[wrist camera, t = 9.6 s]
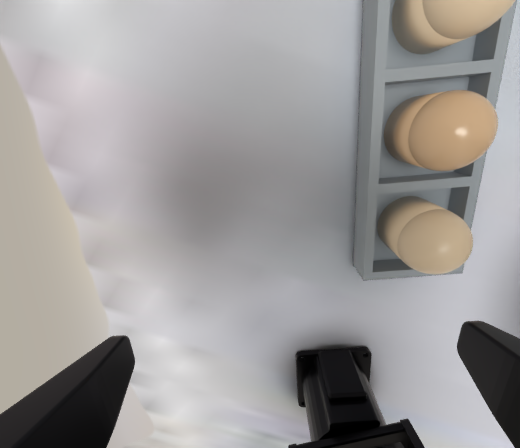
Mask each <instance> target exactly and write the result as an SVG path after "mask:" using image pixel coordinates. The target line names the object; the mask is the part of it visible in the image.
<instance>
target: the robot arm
mask: <svg viewBox="0 0 520 448" xmlns="http://www.w3.org/2000/svg"><path fill="white" fill-rule="evenodd" d="M457 350H458V354H459V356H460V358H461V360H462V361H463V363H464V365H465V367H466V368H467V370H468V372H469V374H470V375H471V377H472V379H473V381H474V382H475V384H476V386H477V388H478V389H479V391H480V393H481V395H482V397H483V398H484V400H485V402H486V404H487V405H488V407H489V409H490V410H491V412H492V414H493V415H494V417H495V419H496V420H497V422H498V423H499V425H500V426H501V428H502V429H503V431H504V432H505V434H506V435H507V437H508V438H509V439H510V441H511V442H512V444H513V445H514V447H515V448H520V339H519V338H517V337H515V336H513V335H511V334H509V333H506V332H504V331H502V330H500V329H498V328H496V327H494V326H492V325H489V324H487V323H485V322H482V321H467V322H464V324H463V325H462V327H461V331H460V335H459V339H458V343H457ZM364 353H365V354H364ZM301 357H303V358H301ZM134 365H135V357H134V354H133V350H132V347H131V343H130V340H129V338H128V337H127V336H125V335H123V336H112V337H110V338H108V339H107V340H105V341H104V342H102V343H101V344H100V345H98V346H97V347H95V348H94V349H92V350H91V351H90V352H88V353H87V354H85V355H84V356H83V357H81V358H80V359H78V360H77V361H76V362H74V363H73V364H71V365H70V366H68V367H67V368H65V369H64V370H63V371H61V372H60V373H58V374H57V375H55V376H54V377H53V378H51V379H50V380H48V381H47V382H46V383H44V384H43V385H41V386H40V387H38V388H37V389H36V390H34V391H33V392H31V393H30V394H29V395H27V396H26V397H24V398H23V399H21V400H20V401H19V402H17V403H16V404H14V405H13V406H11V407H10V408H9V409H8V410H6V411H4V412H3V413H1V414H0V448H106V447H107V445H108V443H109V440H110V437H111V435H112V433H113V430H114V427H115V425H116V422H117V419H118V416H119V413H120V410H121V406H122V403H123V400H124V397H125V394H126V391H127V388H128V385H129V382H130V379H131V375H132V372H133V369H134ZM370 366H371V352H370V350H369V349H368V348H366V347H360V348H346V349H331V350H316V351H301V352H298V353H297V354H296V371H297V389H298V403H299V406H300V407H306V411H307V417H308V424H309V430H310V436H311V442H308V443H303V444H299V445H296V444H292V445H289V446H288V448H425V447H424V445H423V444H422V442H421V440H420V439H419V437H418V435H417V433H416V432H415V430H414V428H413V427H412V425H411V423H410V421H409V420H408V419H403V420H400V422H397V423H393V424H388V425H386V423H385V420H384V418H383V416H382V413H381V411H380V408H379V406H378V404H377V401H376V399H375V396H374V394H373V392H372V389H371V387H370V384H369V380H370Z"/></svg>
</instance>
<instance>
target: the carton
mask: <svg viewBox="0 0 520 448" xmlns="http://www.w3.org/2000/svg"><path fill="white" fill-rule="evenodd" d="M516 3H517V0H363V19H362V45H361V72H360V99H359V125H358V152H357V178H356V205H355V231H354V258H353V266H354V267H355V269H356V270H357V272H358V273H359V275H360V276H361V278H362V279H363V281H366V280H379V279H392V278H406V277H419V276H432V275H446V274H459V273H462V272H463V267H464V263H465V261H466V260H467V259H468V257H469V256H470V254H471V251H472V247H473V237H472V233H471V227H472V222H473V217H474V212H475V207H476V202H477V197H478V192H479V187H480V182H481V177H482V172H483V167H484V162H485V157H486V152H487V151H486V152H485V153H484V154H483V155H482V156H481V157H480V158H478V159H477V160H476V161H474V162H473V163H471V164H469V165H467V166H465V167H462V168H459V169H456V170H451V171H434V170H429V169H426V168H422V167H419V166H415V165H412V164H408V163H405V162H401V161H399V160H397V159H395V158H394V157H392V156H391V155H390V153H389V152H388V150H387V148H386V146H385V142H384V129H385V125H386V122H387V120H388V118H389V116H390V115H391V113H392V112H393V110H394V109H395V108H396V107H397V106H398V105H399V104H401V103H402V102H403V101H405V100H407V99H409V98H411V97H415V96H420V95H426V94H432V93H439V92H445V91H451V90H468V91H473V92H476V93H478V94H480V95H482V96H484V97H485V98H486V99H487V100H489V102H490V103H491V104H492V105H493V107H494V109H495V108H496V103H497V98H498V93H499V88H500V83H501V78H502V73H503V68H504V63H505V58H506V53H507V48H508V43H509V38H510V33H511V28H512V23H513V18H514V13H515V8H516Z"/></svg>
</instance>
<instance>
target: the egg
mask: <svg viewBox="0 0 520 448" xmlns="http://www.w3.org/2000/svg"><path fill="white" fill-rule="evenodd" d="M497 129H498V117H497V113H496V111H495V109H494V107H493V105H492V104H491V103H490V102H489V100H487V99H486V98H485V97H484V96H482V95H480V94H478V93H476V92H473V91H468V90H451V91H445V92H439V93H432V94H426V95H420V96H415V97H411V98H409V99H407V100H405V101H403V102H402V103H401V104H399V105H398V106H397V107H396V108H395V109H394V110H393V112H392V113H391V115H390V116H389V118H388V120H387V122H386V125H385V129H384V142H385V146H386V148H387V150H388V152H389V153H390V155H391V156H392V157H394V158H395V159H397V160H399V161H401V162H405V163H408V164H412V165H415V166H419V167H422V168H426V169H429V170H434V171H451V170H456V169H459V168H462V167H465V166H467V165H469V164H471V163H473V162H474V161H476V160H477V159H478V158H480V157H481V156H482V155H483V154H484V153H485V152H486V151H487V150H488V149H489V147H490V146H491V144H492V143H493V141H494V139H495V136H496V133H497Z"/></svg>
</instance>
